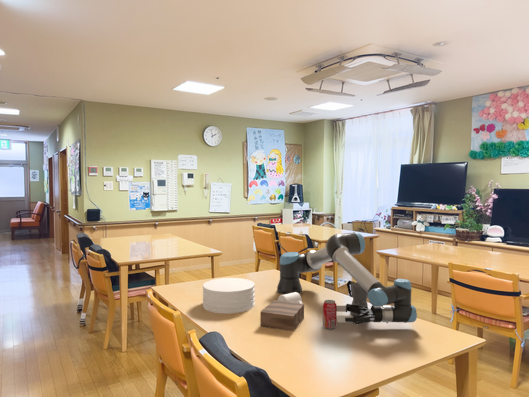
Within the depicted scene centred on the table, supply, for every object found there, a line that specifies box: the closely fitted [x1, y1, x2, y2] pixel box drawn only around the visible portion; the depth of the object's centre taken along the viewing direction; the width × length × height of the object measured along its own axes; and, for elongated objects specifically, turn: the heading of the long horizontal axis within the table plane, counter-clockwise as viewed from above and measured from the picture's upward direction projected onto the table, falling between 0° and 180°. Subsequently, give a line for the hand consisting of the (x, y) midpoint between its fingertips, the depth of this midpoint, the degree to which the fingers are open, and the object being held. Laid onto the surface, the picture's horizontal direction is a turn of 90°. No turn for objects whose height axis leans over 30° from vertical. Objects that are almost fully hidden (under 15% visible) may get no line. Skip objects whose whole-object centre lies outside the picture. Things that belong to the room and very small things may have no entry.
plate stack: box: [202, 277, 256, 315], centre depth 209 cm, size 28×28×12 cm
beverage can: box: [322, 299, 338, 330], centre depth 177 cm, size 6×6×12 cm
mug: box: [277, 292, 303, 304], centre depth 201 cm, size 12×10×8 cm
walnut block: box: [259, 300, 305, 332], centre depth 183 cm, size 18×16×7 cm
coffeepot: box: [346, 280, 369, 317], centre depth 195 cm, size 15×9×18 cm, turn 33°
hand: (334, 313), depth 176 cm, fingers open, 13 cm apart
